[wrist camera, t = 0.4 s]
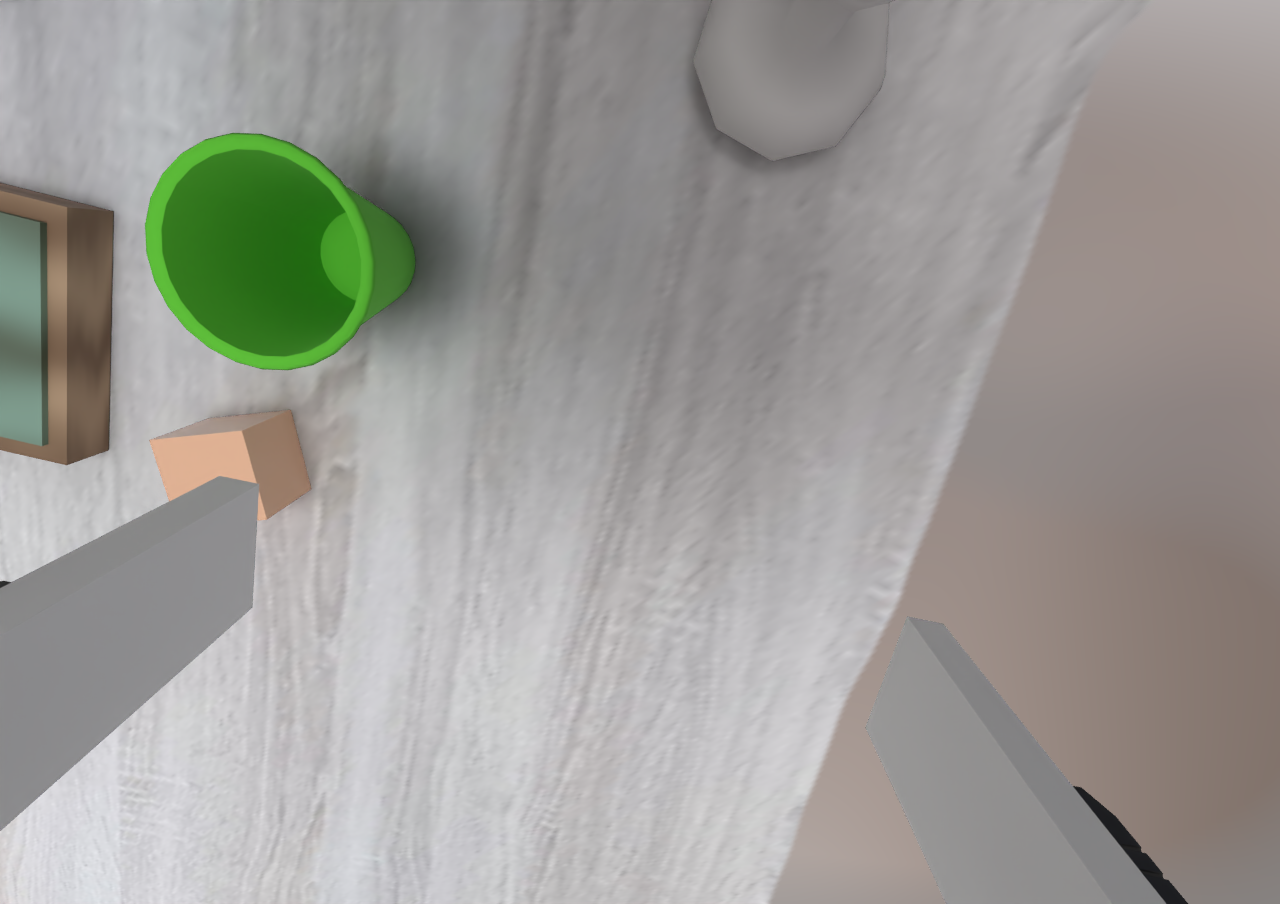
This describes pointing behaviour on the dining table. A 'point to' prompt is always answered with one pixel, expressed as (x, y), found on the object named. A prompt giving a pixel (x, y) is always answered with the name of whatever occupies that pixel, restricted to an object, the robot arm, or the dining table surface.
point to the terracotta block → (236, 457)
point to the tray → (54, 326)
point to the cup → (270, 251)
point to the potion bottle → (791, 70)
